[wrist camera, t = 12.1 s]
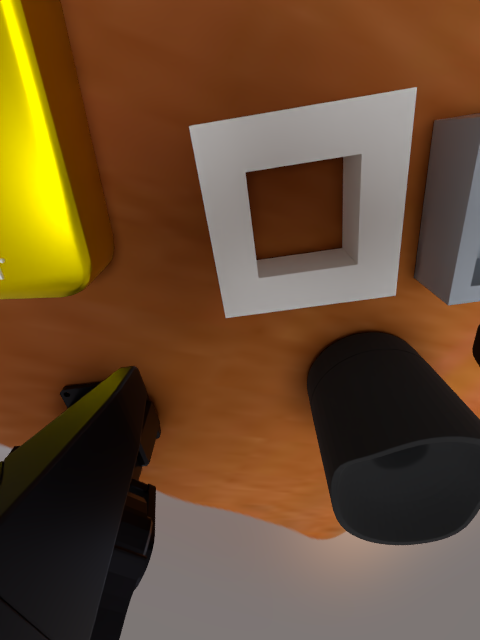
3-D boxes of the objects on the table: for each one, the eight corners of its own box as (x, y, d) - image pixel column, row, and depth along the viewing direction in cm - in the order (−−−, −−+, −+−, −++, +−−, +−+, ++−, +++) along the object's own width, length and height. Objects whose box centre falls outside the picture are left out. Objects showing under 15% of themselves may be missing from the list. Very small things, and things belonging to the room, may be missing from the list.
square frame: (226, 296, 22) (225, 318, 20) (195, 127, 17) (188, 125, 15) (376, 275, 21) (395, 295, 19) (388, 94, 17) (416, 86, 14)
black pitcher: (278, 366, 25) (300, 488, 17) (391, 300, 22) (488, 405, 14) (336, 433, 29) (379, 561, 20) (439, 383, 26) (539, 507, 18)
